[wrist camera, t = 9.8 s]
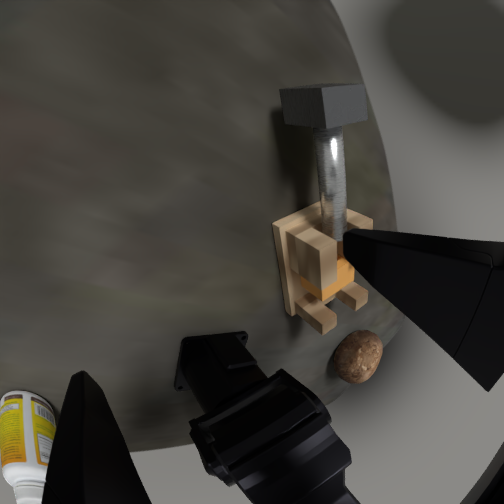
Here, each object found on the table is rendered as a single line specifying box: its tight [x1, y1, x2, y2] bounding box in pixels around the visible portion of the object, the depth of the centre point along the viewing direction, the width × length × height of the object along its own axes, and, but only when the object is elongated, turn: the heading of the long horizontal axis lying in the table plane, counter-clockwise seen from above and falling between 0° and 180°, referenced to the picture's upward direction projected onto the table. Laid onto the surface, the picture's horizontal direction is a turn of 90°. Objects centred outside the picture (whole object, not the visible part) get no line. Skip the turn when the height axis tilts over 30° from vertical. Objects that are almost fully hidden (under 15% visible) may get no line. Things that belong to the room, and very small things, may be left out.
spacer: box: [301, 254, 354, 302], centre depth 26 cm, size 2×4×3 cm, turn 103°
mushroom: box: [334, 330, 382, 384], centre depth 39 cm, size 8×8×6 cm
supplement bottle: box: [0, 391, 56, 504], centre depth 13 cm, size 6×6×10 cm
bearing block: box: [272, 201, 373, 335], centre depth 26 cm, size 10×7×5 cm
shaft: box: [279, 84, 368, 242], centre depth 20 cm, size 12×4×4 cm, turn 13°
